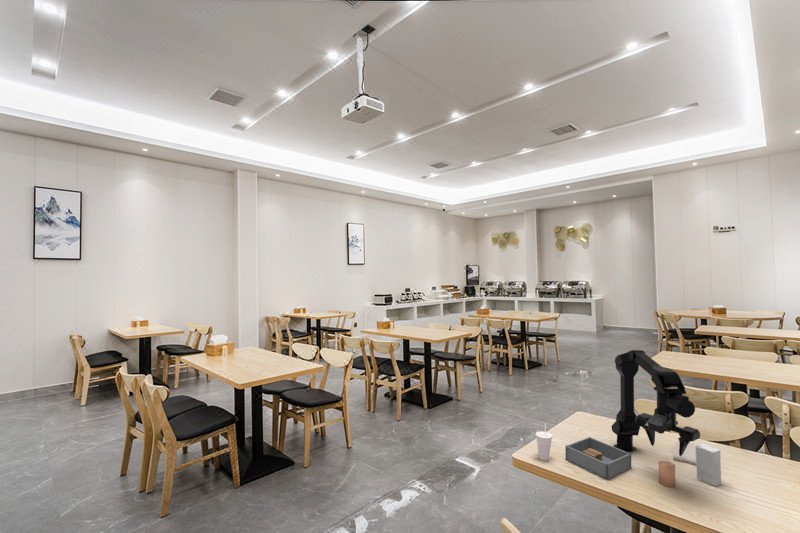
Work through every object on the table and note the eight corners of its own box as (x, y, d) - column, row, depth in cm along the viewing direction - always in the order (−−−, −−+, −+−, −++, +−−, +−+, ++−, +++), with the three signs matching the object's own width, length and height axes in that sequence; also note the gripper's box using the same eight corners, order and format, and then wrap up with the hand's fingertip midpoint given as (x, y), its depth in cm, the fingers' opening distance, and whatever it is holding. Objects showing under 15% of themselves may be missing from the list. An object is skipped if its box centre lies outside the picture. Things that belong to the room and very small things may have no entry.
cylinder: (662, 478, 146) (662, 459, 146) (678, 484, 142) (678, 465, 142) (655, 482, 143) (655, 462, 143) (670, 489, 139) (670, 469, 139)
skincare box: (721, 484, 142) (721, 449, 142) (714, 487, 140) (714, 452, 140) (702, 475, 148) (702, 442, 147) (695, 478, 146) (695, 445, 145)
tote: (589, 450, 168) (589, 436, 168) (631, 468, 153) (631, 453, 153) (565, 459, 160) (565, 445, 160) (607, 480, 145) (607, 464, 145)
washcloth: (711, 453, 166) (711, 445, 166) (710, 471, 152) (710, 463, 152) (676, 445, 173) (676, 437, 173) (672, 461, 159) (672, 453, 159)
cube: (590, 460, 158) (590, 447, 158) (602, 466, 154) (602, 453, 154) (582, 464, 156) (582, 451, 155) (594, 469, 151) (594, 456, 151)
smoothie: (553, 463, 158) (553, 427, 157) (536, 461, 159) (536, 426, 159) (551, 455, 164) (550, 421, 164) (534, 454, 165) (534, 420, 165)
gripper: (627, 402, 146) (627, 445, 146) (684, 420, 130) (684, 468, 130) (643, 397, 152) (643, 438, 152) (700, 413, 136) (700, 459, 136)
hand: (666, 450), depth 142 cm, fingers open, 9 cm apart
